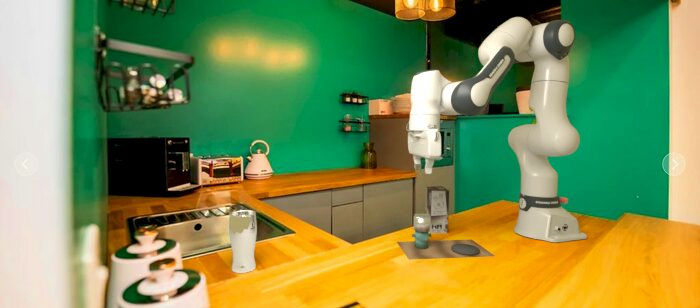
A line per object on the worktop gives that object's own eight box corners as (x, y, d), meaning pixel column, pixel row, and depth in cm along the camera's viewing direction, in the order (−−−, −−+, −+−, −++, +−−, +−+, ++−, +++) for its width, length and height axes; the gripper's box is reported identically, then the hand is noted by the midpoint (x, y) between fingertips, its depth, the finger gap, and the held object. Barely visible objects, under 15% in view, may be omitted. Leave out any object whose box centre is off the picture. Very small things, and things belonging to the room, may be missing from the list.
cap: (427, 226, 101) (427, 211, 101) (432, 231, 96) (433, 216, 96) (411, 227, 101) (411, 212, 100) (416, 232, 96) (416, 216, 95)
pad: (471, 245, 101) (471, 243, 100) (484, 255, 93) (485, 253, 93) (446, 246, 100) (446, 244, 100) (458, 256, 92) (458, 254, 92)
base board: (471, 243, 106) (472, 223, 105) (495, 260, 92) (495, 237, 91) (396, 245, 103) (396, 225, 103) (408, 263, 89) (409, 240, 89)
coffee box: (448, 236, 112) (449, 190, 111) (430, 236, 113) (431, 190, 111) (441, 228, 121) (442, 185, 120) (424, 228, 122) (425, 185, 120)
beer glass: (242, 276, 81) (240, 217, 80) (224, 270, 85) (222, 213, 84) (263, 266, 87) (262, 211, 86) (245, 261, 91) (244, 208, 90)
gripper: (448, 124, 87) (446, 176, 88) (423, 125, 107) (422, 167, 108) (425, 124, 86) (423, 176, 87) (405, 125, 106) (403, 167, 107)
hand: (422, 171), depth 98 cm, fingers open, 8 cm apart
